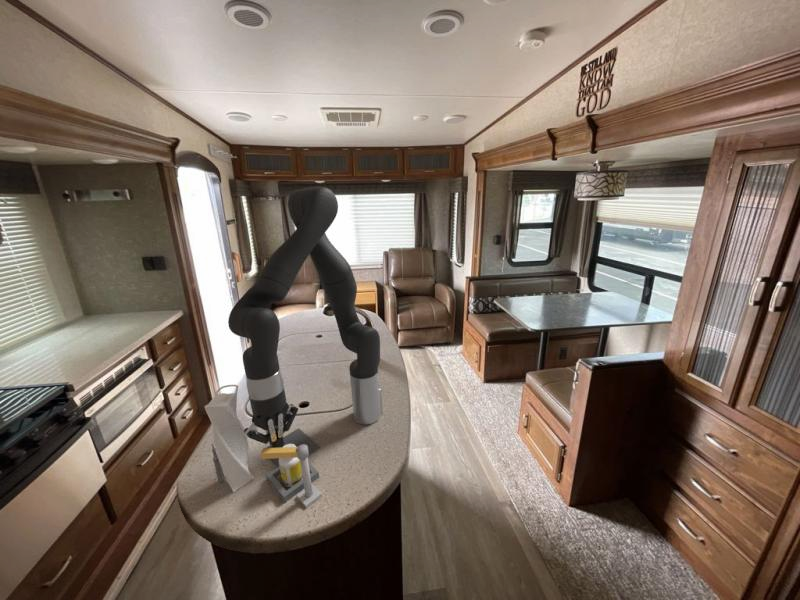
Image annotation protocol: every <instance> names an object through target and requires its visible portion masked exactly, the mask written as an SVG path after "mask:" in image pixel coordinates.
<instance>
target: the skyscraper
mask: <svg viewBox="0 0 800 600" xmlns="http://www.w3.org/2000/svg"><path fill="white" fill-rule="evenodd" d="M229 387H235V390H234V392H231V393H225V392H224V393H219V392H220V391H221V390H222V389H224V388H229ZM238 390H239V385H238V384H227V385H223V386H220V387H219V388H218V389H217V390H216V392H215V394H214V397H213V398H212V399H211V400H210V401H209V403H207V404H206V405H205V406H204V409H205V411H206V414H207V416H208V418H209V420H210V423H211V425H212V427H211V428H212V438H213V442H212V443H211V447H212V449H211V451H212V455H213V457H212V461H213V463H214V464H213V465H214V470H215V475H216V478H217V481H216V482H217V484H218V485H219V487H220V489H221V490H222V491H223V492H224V494H225V495H226V497H227V498H228V497H230V496H231V495H233V494H235V493H236V492H238V491H239V490H241V489H242V488H244V487H246V486H247V485H248V484H250V483H251V482H252V481H255V477H254V476H253V474H252V473H251V472H250V470H249V467H248V464H249V440H248V436H247V435H246V434H245V433H244V430H245V429H246V428H244V425H243V423H242V422H241V420H240V419H239V417H238V414H237V402H238Z"/></svg>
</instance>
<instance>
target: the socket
mask: <svg viewBox="0 0 800 600" xmlns="http://www.w3.org/2000/svg"><path fill="white" fill-rule="evenodd" d="M308 457H309V456H308ZM308 457H307V458H306V459H303V460H300V465H301V471H302V477H303V479H302V480H301V481H299V482H298V483H297V484H295V485H294V486H292V487H289V488H288V489H287V490H286V489H285V487H284V486H283V485H282V484H281V483H280V482H279V481H278V480H277V478H278V477H280V476H281V472H280V466H279V467H277V466H276V468H274V469H273V470H271V471H269V472H268V473H267V474H265V478H266V481H267V482H268V483H269V484H270V486H271V487H272V488H273V489H274V491H275V492H276V493H277V495H278V496H279V497H280V498H281V500H282V501H283V502H284V503H287V502H289V500H291V499H292V498H294V497H295V496H296V498H297V500H298V501H300V503H301V504H302V505H303V506H304V507H305V509H307V508H309V507H310V506H311V505H313V504H314V503H315V502H316V501H318V500H319V499H320V498H321V497H323V493H322V492H321V491H320V490H319V489H318V488H317V487H316V485H314V484H313V483H314V482H315V481H316V480H317V479H319V478H320V473H319V471H318V470H317V469H316V468H315V467H314V466H313V465H312V464H311V463H310V462H309V458H308Z"/></svg>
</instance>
